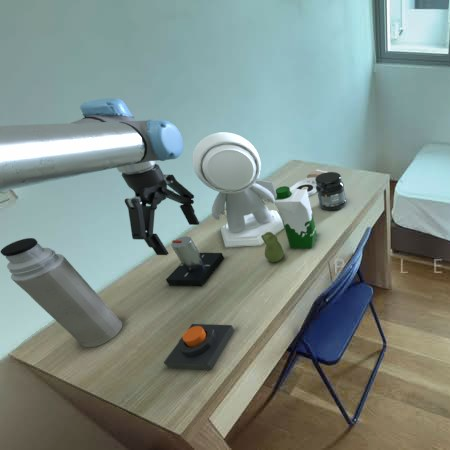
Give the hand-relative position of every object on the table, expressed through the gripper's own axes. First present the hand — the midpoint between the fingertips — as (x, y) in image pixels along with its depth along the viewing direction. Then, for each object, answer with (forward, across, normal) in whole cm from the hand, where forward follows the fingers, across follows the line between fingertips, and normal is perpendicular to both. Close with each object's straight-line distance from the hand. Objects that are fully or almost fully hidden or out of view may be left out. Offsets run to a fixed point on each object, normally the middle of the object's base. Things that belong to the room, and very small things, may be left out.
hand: (179, 238), depth 86 cm
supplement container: (+13, +39, -32) cm, 52 cm away
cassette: (+13, +45, -2) cm, 47 cm away
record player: (+13, +54, -18) cm, 58 cm away
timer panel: (+13, 0, 0) cm, 13 cm away
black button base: (+12, -25, -17) cm, 33 cm away
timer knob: (+10, 0, 0) cm, 10 cm away
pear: (+13, +6, -22) cm, 26 cm away
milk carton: (+13, +15, -28) cm, 34 cm away
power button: (+9, -25, -17) cm, 32 cm away
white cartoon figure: (+13, +22, -7) cm, 26 cm away
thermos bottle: (+13, -22, +11) cm, 28 cm away
